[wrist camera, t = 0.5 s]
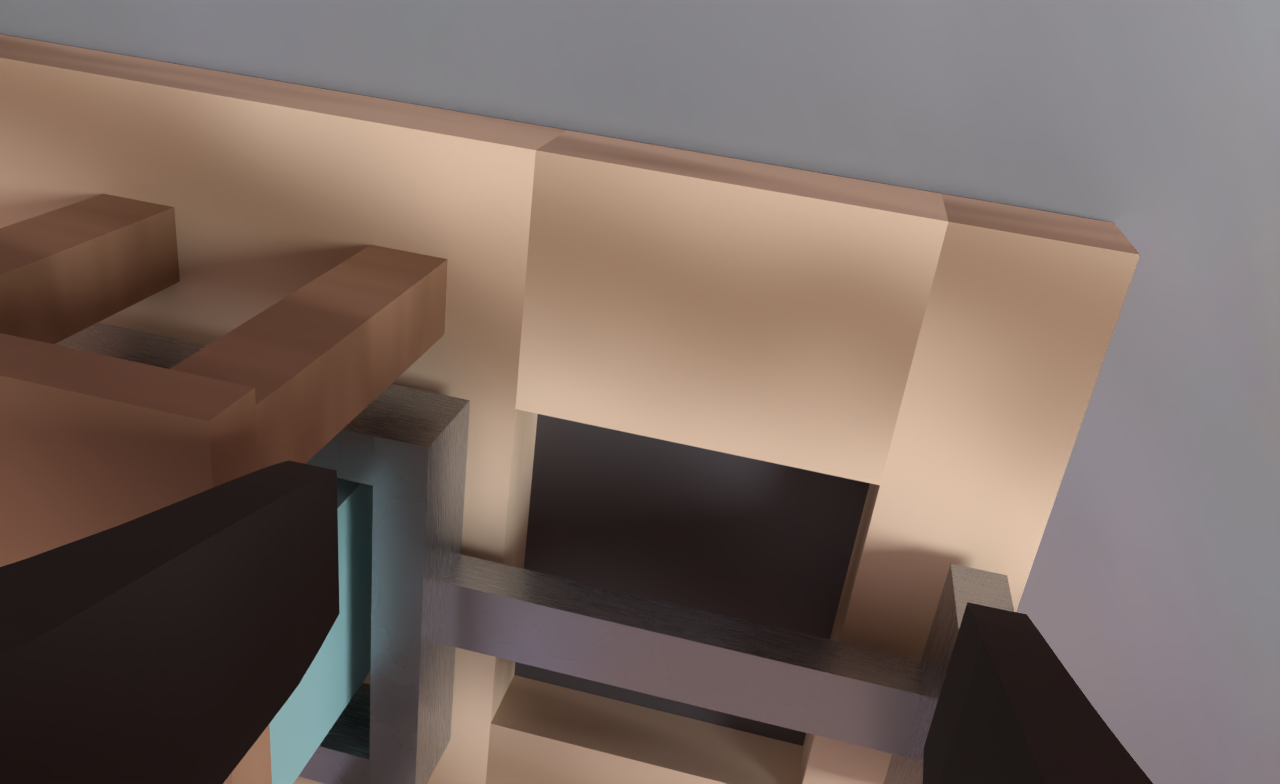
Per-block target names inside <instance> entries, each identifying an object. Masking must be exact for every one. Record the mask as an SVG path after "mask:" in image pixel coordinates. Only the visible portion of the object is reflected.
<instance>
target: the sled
mask: <svg viewBox="0 0 1280 784" xmlns="http://www.w3.org/2000/svg"><path fill="white" fill-rule="evenodd" d="M54 345H59V346H63V347H68V348H73V349H77V350H82V351H87V352H91V353H96V354H101V355H105V356H110V357H115V358H119V359H124V360H129V361H134V362H138V363H143V364H148V365H152V366H157V367H162V368H166V369H170V368H172V367H173V366H175V365H177V364H178V363H180V362H182V361H183V360H185V359H186V358H188V357H190V356H191V355H193V354H194V353H196V352H198V351H199V350H201V349H203V348H204V347H206V346H207V345H203V344H199V343H194V342H189V341H184V340H179V339H175V338H170V337H165V336H160V335H156V334H151V333H146V332H141V331H136V330H132V329H127V328H122V327H117V326H113V325H108V324H103V323H96V324H94V325H92V326H90V327H88V328H86V329H84V330H82V331H80V332H78V333H76V334H74V335H72V336H70V337H68V338H66V339H64V340H62V341H60V342H58V343H56V344H54ZM469 407H470V400H466V399H461V398H457V397H452V396H447V395H442V394H437V393H433V392H428V391H423V390H418V389H414V388H409V387H404V386H399V385H394V384H391V385H390V386H388V387H387V388H386V389H385V390H384V391H383V392H382V393H381V394H380V395H379V396H378V397H377V398H376V399H374V400H373V401H372V402H371V403H370V404H369V405H368V406H367V407H366V408H365V409H364V410H363V411H362V412H360V413H359V414H358V415H357V416H356V417H355V418H354V419H353V420H352V421H351V422H350V423H349V424H348V425H347V426H345V427H344V428H343V429H342V430H341V431H340V432H339V433H338V434H337V435H336V436H335V437H334V438H333V439H331V440H330V441H329V442H328V443H327V444H326V445H325V446H324V447H323V448H322V449H321V450H320V451H319V452H317V453H316V454H315V455H314V456H313V457H312V458H311V459H310V460H309V461H308V462H307V463H306V464H308V465H313V466H318V467H323V468H328V469H332V470H337V478H340V479H345V480H349V481H354V482H358V483H363V484H367V485H371V486H373V521H372V601H371V680H370V684H366V683H362V684H361V685H360V687H359V688H358V690H357V691H356V693H355V694H354V696H353V697H352V699H351V700H350V702H349V703H348V704H347V706H346V707H345V709H344V710H343V712H342V713H341V715H340V716H339V718H338V719H337V720H336V722H335V723H334V725H333V726H332V728H331V729H330V731H329V732H328V734H327V735H326V737H325V738H324V739H323V741H322V742H321V744H320V745H319V747H318V748H317V750H316V751H315V753H314V754H313V755H312V757H311V758H310V760H309V761H308V763H307V764H306V766H305V767H304V769H303V770H302V772H301V773H300V774H299V777H303V778H306V779H310V780H314V781H318V782H321V783H325V784H427V783H428V781H429V779H430V777H431V775H432V773H433V771H434V769H435V768H436V766H437V764H438V762H439V760H440V758H441V756H442V754H443V752H444V751H445V749H446V747H447V745H448V743H449V741H450V738H451V720H452V703H453V685H454V668H455V651H456V647H457V648H461V649H465V650H469V651H473V652H477V653H481V654H485V655H489V656H494V657H498V658H502V659H506V660H510V661H514V662H518V663H522V664H526V665H530V666H534V667H539V668H543V669H547V670H551V671H555V672H559V673H563V674H567V675H571V676H575V677H580V678H584V679H588V680H592V681H596V682H600V683H604V684H608V685H612V686H616V687H621V688H625V689H629V690H633V691H637V692H641V693H645V694H649V695H653V696H657V697H661V698H666V699H670V700H674V701H678V702H682V703H686V704H690V705H694V706H698V707H702V708H707V709H711V710H715V711H719V712H723V713H727V714H731V715H735V716H739V717H743V718H747V719H752V720H756V721H760V722H764V723H768V724H772V725H776V726H780V727H784V728H788V729H793V730H797V731H801V732H805V733H809V734H813V735H817V736H821V737H825V738H829V739H833V740H838V741H842V742H846V743H850V744H854V745H858V746H862V747H866V748H870V749H874V750H879V751H883V752H887V753H891V754H892V757H891V761H890V764H889V767H888V770H887V774H886V777H885V780H884V783H883V784H923V756H924V745H925V742H926V739H927V735H928V732H929V729H930V725H931V722H932V718H933V715H934V712H935V708H936V705H937V702H938V698H939V695H940V692H941V688H942V685H943V682H944V678H945V675H946V672H947V668H948V665H949V662H950V658H951V655H952V652H953V648H954V645H955V642H956V638H957V635H958V632H959V628H960V625H961V622H962V618H963V615H964V612H965V608H966V605H967V602H969V603H974V604H978V605H983V606H988V607H993V608H998V609H1002V610H1007V611H1012V612H1014V607H1013V602H1012V597H1011V592H1010V587H1009V582H1008V577H1007V575H1002V574H998V573H993V572H989V571H984V570H979V569H975V568H970V567H966V566H961V565H957V564H952V563H951V564H950V568H949V571H948V574H947V577H946V581H945V584H944V587H943V591H942V594H941V597H940V600H939V604H938V607H937V610H936V613H935V617H934V620H933V623H932V626H931V630H930V633H929V636H928V640H927V643H926V646H925V649H924V653H923V656H922V659H921V660H916V659H912V658H908V657H903V656H899V655H895V654H890V653H886V652H882V651H877V650H873V649H869V648H864V647H860V646H856V645H851V644H847V643H843V642H839V641H834V640H830V639H826V638H821V637H817V636H813V635H808V634H804V633H800V632H795V631H791V630H787V629H782V628H778V627H774V626H769V625H765V624H761V623H756V622H752V621H748V620H743V619H739V618H735V617H730V616H726V615H722V614H717V613H713V612H709V611H704V610H700V609H696V608H691V607H687V606H683V605H678V604H674V603H670V602H665V601H661V600H657V599H652V598H648V597H644V596H639V595H635V594H631V593H626V592H622V591H618V590H613V589H609V588H605V587H600V586H596V585H592V584H587V583H583V582H579V581H574V580H570V579H566V578H561V577H557V576H553V575H548V574H544V573H540V572H536V571H531V570H527V569H523V568H518V567H514V566H510V565H505V564H501V563H497V562H492V561H488V560H484V559H479V558H475V557H471V556H466V555H462V554H461V546H462V529H463V511H464V494H465V476H466V459H467V442H468V424H469Z"/></svg>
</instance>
